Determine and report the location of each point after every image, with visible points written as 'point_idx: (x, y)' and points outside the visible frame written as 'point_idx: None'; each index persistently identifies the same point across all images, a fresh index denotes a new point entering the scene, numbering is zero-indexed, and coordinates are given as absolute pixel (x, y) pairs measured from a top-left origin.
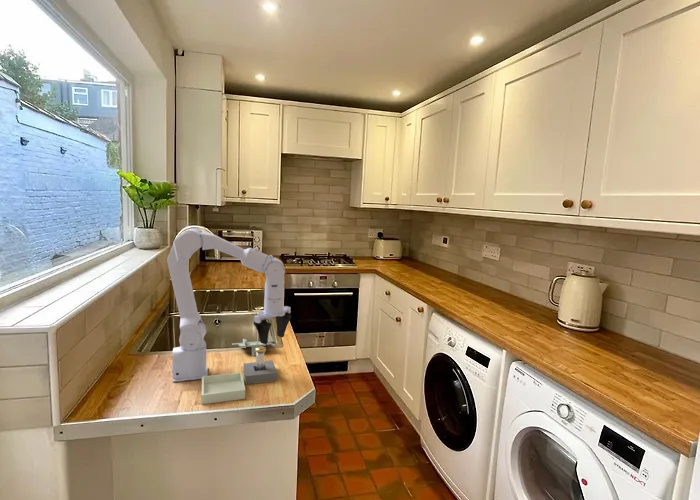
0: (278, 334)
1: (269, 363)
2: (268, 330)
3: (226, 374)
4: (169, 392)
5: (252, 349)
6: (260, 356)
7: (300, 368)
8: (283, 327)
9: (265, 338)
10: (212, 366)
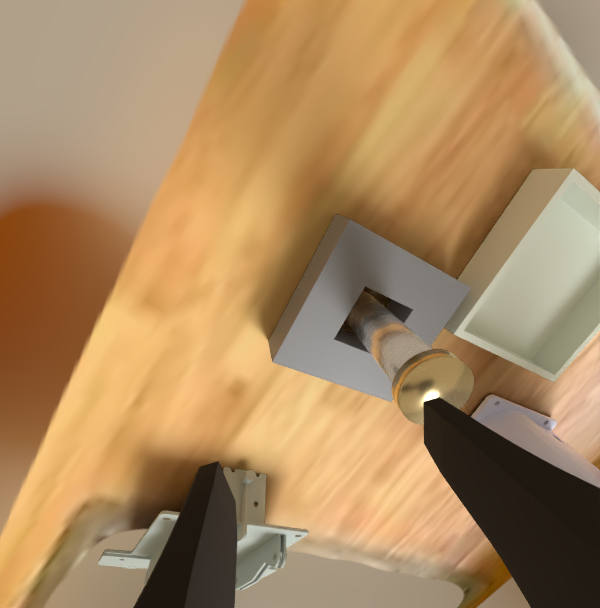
0: (231, 511)
1: (307, 341)
2: (576, 515)
3: (501, 350)
4: (596, 371)
5: (262, 504)
6: (426, 343)
7: (143, 249)
8: (197, 588)
9: (492, 434)
10: (418, 458)
